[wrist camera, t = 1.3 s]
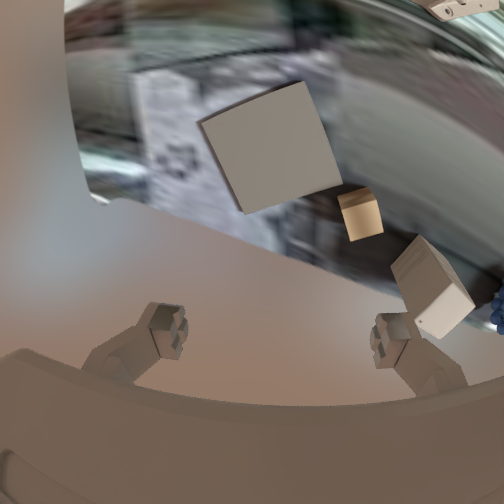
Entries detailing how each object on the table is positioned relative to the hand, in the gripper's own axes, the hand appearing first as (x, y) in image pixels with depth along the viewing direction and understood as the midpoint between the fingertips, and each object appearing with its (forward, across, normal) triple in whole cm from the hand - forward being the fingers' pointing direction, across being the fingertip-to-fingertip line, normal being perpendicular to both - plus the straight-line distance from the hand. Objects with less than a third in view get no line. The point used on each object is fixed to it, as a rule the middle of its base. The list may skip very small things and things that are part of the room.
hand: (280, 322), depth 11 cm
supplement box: (+27, -22, +13) cm, 37 cm away
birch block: (+27, -10, +5) cm, 30 cm away
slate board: (+28, +1, -2) cm, 28 cm away
